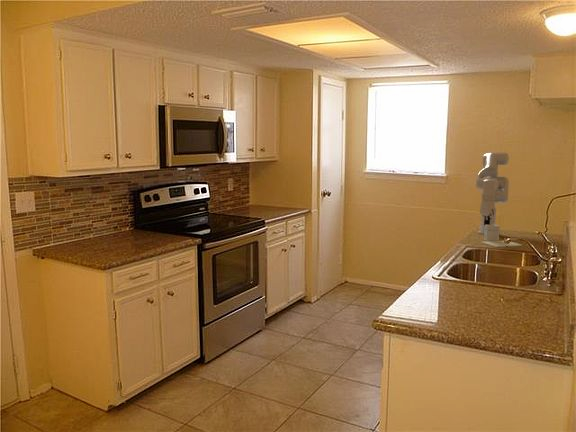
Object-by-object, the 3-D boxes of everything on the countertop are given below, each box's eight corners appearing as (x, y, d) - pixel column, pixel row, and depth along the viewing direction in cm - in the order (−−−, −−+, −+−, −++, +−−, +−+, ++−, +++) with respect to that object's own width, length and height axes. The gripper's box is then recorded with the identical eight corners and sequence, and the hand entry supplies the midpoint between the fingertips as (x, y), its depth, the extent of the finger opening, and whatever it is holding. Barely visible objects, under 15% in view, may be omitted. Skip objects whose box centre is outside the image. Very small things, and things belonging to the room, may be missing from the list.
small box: (496, 240, 329) (497, 224, 327) (498, 241, 323) (499, 225, 322) (483, 240, 330) (484, 224, 328) (486, 241, 324) (487, 225, 322)
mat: (481, 242, 320) (481, 241, 320) (507, 241, 324) (507, 240, 324) (495, 247, 306) (495, 246, 306) (522, 245, 310) (522, 245, 310)
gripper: (476, 197, 334) (475, 224, 337) (490, 199, 320) (488, 227, 322) (486, 197, 336) (485, 223, 338) (500, 199, 321) (498, 227, 324)
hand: (486, 225), depth 330 cm, fingers closed
